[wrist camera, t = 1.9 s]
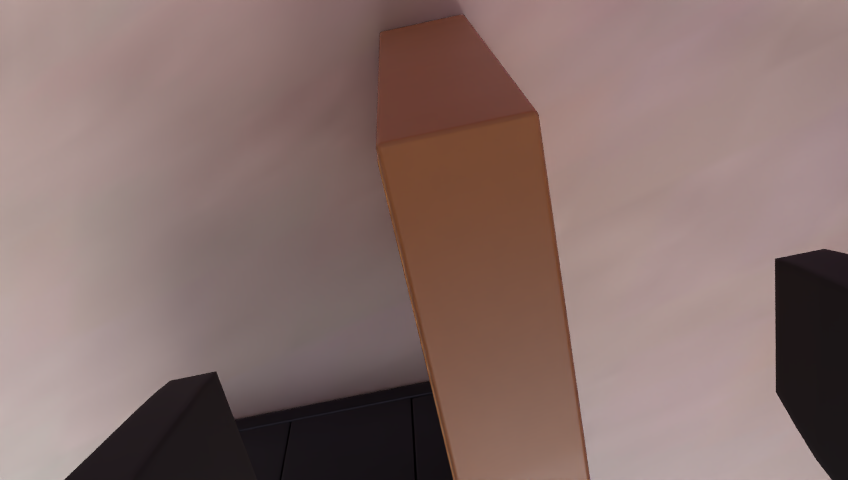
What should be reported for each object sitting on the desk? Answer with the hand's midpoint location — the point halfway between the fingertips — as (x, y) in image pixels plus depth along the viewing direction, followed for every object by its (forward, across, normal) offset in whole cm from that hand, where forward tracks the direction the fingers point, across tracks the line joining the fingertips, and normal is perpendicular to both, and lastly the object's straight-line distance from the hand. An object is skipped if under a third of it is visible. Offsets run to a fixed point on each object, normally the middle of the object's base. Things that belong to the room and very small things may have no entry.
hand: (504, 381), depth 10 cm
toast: (+10, 0, 0) cm, 10 cm away
